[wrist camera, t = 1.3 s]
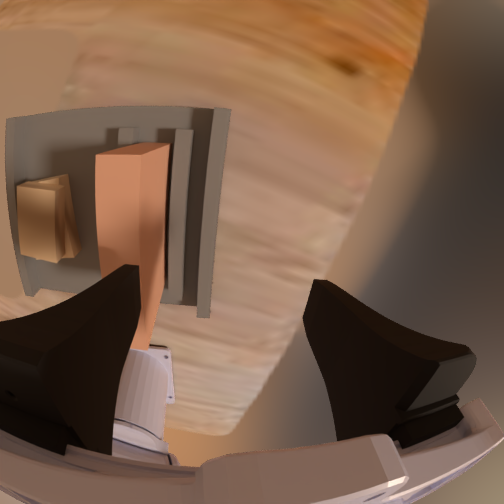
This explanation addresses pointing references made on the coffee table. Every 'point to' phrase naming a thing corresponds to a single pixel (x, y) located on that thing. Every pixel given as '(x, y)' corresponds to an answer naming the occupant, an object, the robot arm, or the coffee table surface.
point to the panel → (135, 221)
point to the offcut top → (41, 220)
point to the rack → (83, 188)
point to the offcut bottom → (67, 217)
